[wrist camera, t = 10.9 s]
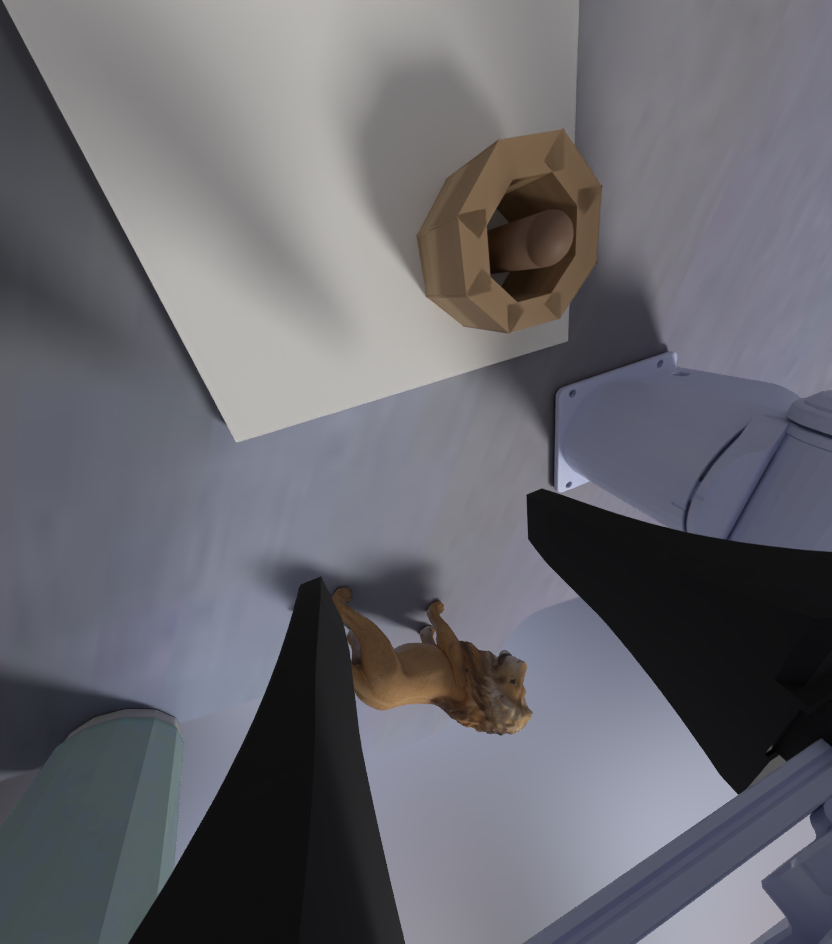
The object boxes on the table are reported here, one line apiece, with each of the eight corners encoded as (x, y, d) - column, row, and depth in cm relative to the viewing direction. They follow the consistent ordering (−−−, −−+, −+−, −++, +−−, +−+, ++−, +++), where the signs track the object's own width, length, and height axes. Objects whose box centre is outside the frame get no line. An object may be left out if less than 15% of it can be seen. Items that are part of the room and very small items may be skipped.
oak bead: (531, 162, 14) (606, 120, 11) (533, 307, 17) (594, 309, 14) (407, 185, 13) (449, 145, 10) (432, 335, 16) (471, 345, 13)
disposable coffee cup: (22, 803, 22) (-341, 1500, 9) (0, 692, 18) (-664, 1610, 5) (211, 765, 26) (143, 1198, 14) (225, 670, 22) (148, 1145, 10)
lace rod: (493, 230, 15) (586, 199, 10) (496, 271, 16) (583, 259, 11) (461, 237, 15) (541, 209, 10) (465, 278, 15) (542, 270, 11)
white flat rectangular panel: (559, -144, 12) (585, -186, 11) (553, 339, 20) (568, 341, 19) (-66, -156, 8) (-115, -220, 7) (239, 433, 16) (236, 442, 15)
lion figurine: (487, 589, 28) (561, 696, 20) (462, 635, 30) (522, 750, 22) (306, 582, 22) (318, 735, 14) (288, 642, 23) (290, 807, 16)
